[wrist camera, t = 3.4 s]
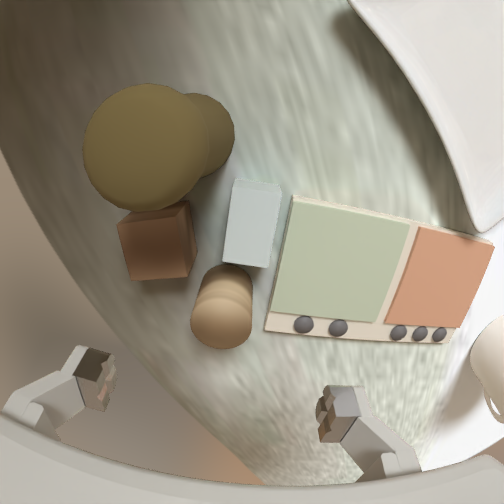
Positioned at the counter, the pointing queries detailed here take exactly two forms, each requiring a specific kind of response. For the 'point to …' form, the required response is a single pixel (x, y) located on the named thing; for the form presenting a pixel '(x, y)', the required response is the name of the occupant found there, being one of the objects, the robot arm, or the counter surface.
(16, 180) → the counter surface
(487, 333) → the mug
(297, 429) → the counter surface
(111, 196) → the pepper shaker
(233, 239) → the soap box
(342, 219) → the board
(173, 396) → the counter surface
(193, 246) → the walnut cube
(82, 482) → the robot arm
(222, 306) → the cork stopper
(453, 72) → the salad plate
